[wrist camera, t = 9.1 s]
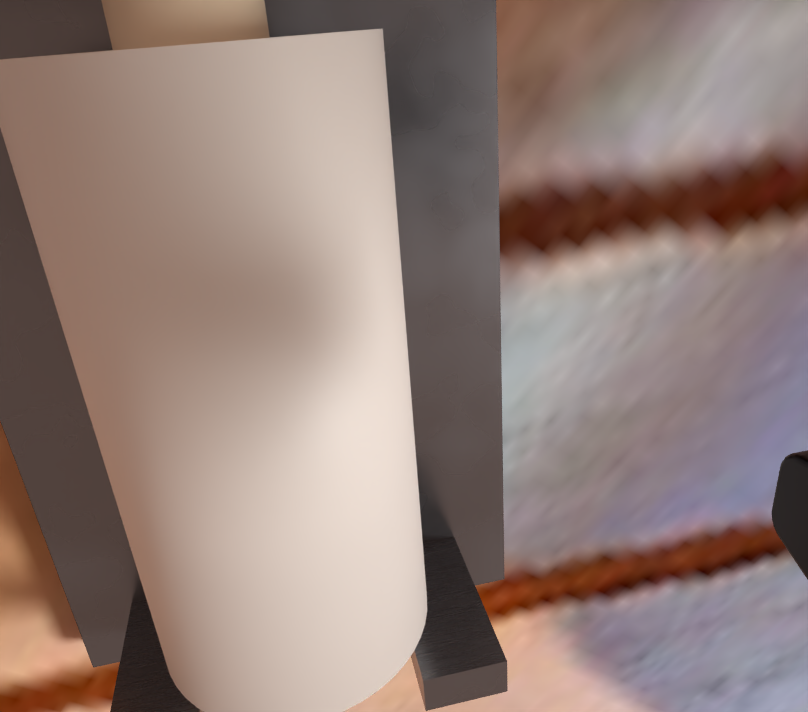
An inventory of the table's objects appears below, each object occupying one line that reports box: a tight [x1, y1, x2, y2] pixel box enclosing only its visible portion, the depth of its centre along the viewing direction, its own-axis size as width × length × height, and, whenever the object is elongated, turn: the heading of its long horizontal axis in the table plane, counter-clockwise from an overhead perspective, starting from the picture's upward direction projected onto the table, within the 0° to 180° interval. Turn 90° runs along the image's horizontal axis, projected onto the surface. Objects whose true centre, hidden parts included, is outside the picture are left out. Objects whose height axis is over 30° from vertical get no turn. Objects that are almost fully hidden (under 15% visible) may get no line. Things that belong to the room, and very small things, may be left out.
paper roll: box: [0, 0, 427, 712], centre depth 14 cm, size 17×6×6 cm, turn 6°
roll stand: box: [0, 0, 507, 712], centre depth 15 cm, size 12×19×6 cm, turn 6°
